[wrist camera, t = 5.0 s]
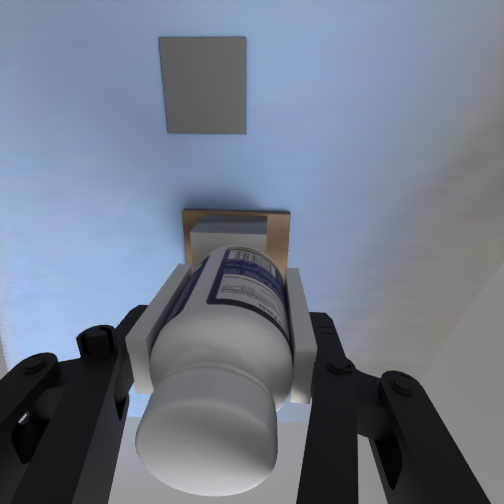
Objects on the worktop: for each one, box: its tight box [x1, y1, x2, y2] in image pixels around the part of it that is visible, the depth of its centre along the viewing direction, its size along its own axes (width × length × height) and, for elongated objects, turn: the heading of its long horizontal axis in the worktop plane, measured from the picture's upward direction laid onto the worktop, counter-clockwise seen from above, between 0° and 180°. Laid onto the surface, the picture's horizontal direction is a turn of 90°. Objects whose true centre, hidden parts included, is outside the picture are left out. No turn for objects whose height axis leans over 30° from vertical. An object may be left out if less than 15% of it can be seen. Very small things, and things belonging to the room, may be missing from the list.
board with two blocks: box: [182, 209, 290, 283], centre depth 32 cm, size 18×12×7 cm, turn 179°
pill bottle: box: [135, 245, 294, 496], centre depth 12 cm, size 5×5×10 cm
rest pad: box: [159, 37, 246, 134], centre depth 27 cm, size 8×8×1 cm
